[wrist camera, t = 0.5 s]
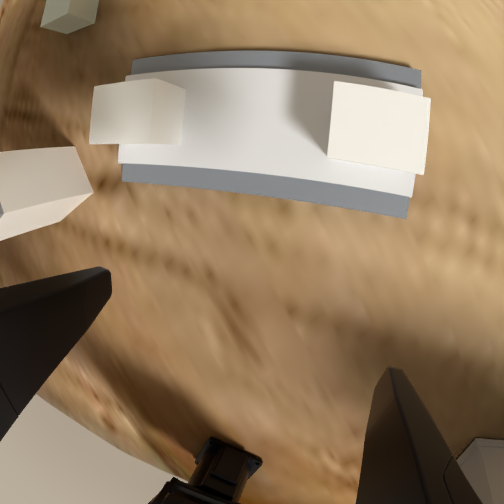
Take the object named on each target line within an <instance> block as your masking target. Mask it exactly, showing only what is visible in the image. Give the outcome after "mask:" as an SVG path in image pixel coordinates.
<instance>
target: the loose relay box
mask: <svg viewBox="0 0 504 504" xmlns="http://www.w3.org/2000/svg"><path fill="white" fill-rule="evenodd" d="M98 4H99V0H46V4H45V8H44V12H43V17H42V21H41V26H40V27H42V28H46V29H50V30H53V31H57V32H61V33H64V34H69V33H71V32H74V31H76V30H79V29H81V28H84V27H86V26H89V25H92V24H94V23H95V20H96V14H97V9H98Z"/></svg>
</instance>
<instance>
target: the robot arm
mask: <svg viewBox="0 0 504 504" xmlns="http://www.w3.org/2000/svg"><path fill="white" fill-rule="evenodd" d="M111 294H112V282H111V273H110V271H109V270H108V269H105V268H103V267H94V268H89V269H85V270H80V271H76V272H71V273H66V274H62V275H57V276H53V277H48V278H44V279H39V280H35V281H30V282H26V283H21V284H17V285H13V286H9V287H4V288H0V441H1V440H2V438H3V437H4V436H5V434H6V433H7V431H8V430H9V428H10V427H11V425H12V424H13V423H14V422H15V420H16V419H17V418H18V415H20V413H21V412H22V411H23V409H24V408H25V407H26V405H27V404H28V403H29V401H30V400H31V399H32V398H33V396H34V395H35V394H36V392H37V391H38V390H39V389H40V387H41V386H42V385H43V384H44V382H45V381H46V380H47V378H48V377H49V376H50V375H51V373H52V372H53V371H54V370H55V368H56V367H57V366H58V365H59V364H60V362H61V361H62V360H63V359H64V357H65V356H66V355H67V354H68V353H69V351H70V350H71V349H72V348H73V347H74V345H75V344H76V343H77V342H78V341H79V339H80V338H81V337H82V336H83V335H84V334H85V332H86V331H87V330H88V328H89V327H90V326H91V324H92V323H93V321H94V320H95V318H96V317H97V316H98V314H99V313H100V311H101V310H102V308H103V307H104V306H105V304H106V303H107V301H108V300H109V299H110V297H111ZM452 455H453V454H452V452H451V450H450V448H449V446H448V445H447V443H446V441H445V439H444V438H443V436H442V434H441V433H440V431H439V429H438V427H437V426H436V424H435V422H434V421H433V419H432V417H431V416H430V414H429V412H428V411H427V409H426V407H425V406H424V404H423V402H422V401H421V399H420V397H419V396H418V394H417V392H416V391H415V389H414V388H413V386H412V384H411V383H410V381H409V380H408V378H407V376H406V375H405V373H404V372H403V370H402V369H400V368H396V367H392V366H390V367H388V368H387V369H386V370H385V372H384V374H383V375H382V377H381V378H380V380H379V381H378V383H377V385H376V387H375V390H374V395H373V400H372V405H371V410H370V415H369V420H368V424H367V429H366V434H365V441H364V450H363V458H362V466H361V473H360V480H359V487H358V493H357V499H356V504H483V503H482V501H481V500H480V498H479V497H478V495H477V494H476V492H475V491H474V489H473V487H472V486H471V484H470V483H469V481H468V480H467V478H466V476H465V475H464V473H463V471H462V469H461V468H460V466H459V464H458V462H457V461H456V459H455V457H454V456H452ZM262 462H263V461H262V460H261V459H258V458H256V457H254V456H251V455H249V454H247V453H245V452H242V451H240V450H238V449H236V448H234V447H231V446H229V445H227V444H225V443H223V442H221V441H219V440H217V439H215V438H212V437H210V438H209V439H208V440H207V442H206V444H205V445H204V447H203V449H202V450H201V452H200V454H199V455H198V457H197V459H196V460H195V464H197V467H196V469H195V471H194V473H193V474H192V476H191V478H190V480H189V482H188V483H184V482H182V481H180V480H178V479H177V478H175V477H173V478H172V479H171V481H170V482H169V481H168V482H166V484H165V485H164V487H163V489H162V490H161V491H160V492H159V494H158V495H156V496H155V497H154V498H153V499H152V500H151V501H150V502H149V503H148V504H240V503H238V502H239V499H240V497H241V494H242V492H243V489H244V487H245V484H246V482H247V480H248V479H249V478H250V477H251V476H252V475H253V474H254V473H255V472H256V471H257V470H258V468H259V467H260V466H261V465H262Z"/></svg>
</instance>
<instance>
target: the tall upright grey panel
mask: <svg viewBox="0 0 504 504" xmlns="http://www.w3.org/2000/svg"><path fill="white" fill-rule="evenodd" d="M456 461H457V462H458V464H459V466H460V468H461V469H462V471H463V473H464V475H465V476H466V478H467V480H468V481H469V483H470V484H471V486H472V487H473V489H474V491H475V492H476V494H477V495H478V497H479V498H480V500H481V501H482V503H483V504H504V440H494V439H482V438H476V439H475V440H474V441H473V442H472V443H471V444H470V446H469V447H468V448H467V449H466V450H465V451H464V452H463V453H462V455H461V456H460V457H459V458H458V459H457V460H456Z"/></svg>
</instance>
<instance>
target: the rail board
mask: <svg viewBox="0 0 504 504" xmlns="http://www.w3.org/2000/svg"><path fill="white" fill-rule="evenodd" d="M422 95H423V89H421V70H417V69H413V68H408V67H404V66H399V65H394V64H389V63H383V62H378V61H372V60H366V59H359V58H352V57H345V56H336V55H327V54H317V53H304V52H287V51H213V52H197V53H184V54H174V55H164V56H156V57H149V58H142V59H135V60H133V61H132V68H131V75H128V76H126V78H125V82H119V83H112V84H105V85H99V86H94V93H93V102H92V112H91V123H90V137H89V144H119V155H118V163H123V167H122V181H123V182H136V183H148V184H160V185H171V186H181V187H191V188H201V189H210V190H219V191H227V192H236V193H244V194H252V195H260V196H267V197H275V198H282V199H289V200H296V201H303V202H309V203H316V204H322V205H329V206H335V207H341V208H347V209H353V210H359V211H365V212H370V213H376V214H381V215H387V216H392V217H397V218H403V219H406V217H407V211H408V205H409V199H410V197H412V193H413V187H414V180H415V174H420V175H424V168H425V160H426V152H427V142H428V131H429V118H430V101H431V99H430V98H426V97H422Z"/></svg>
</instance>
